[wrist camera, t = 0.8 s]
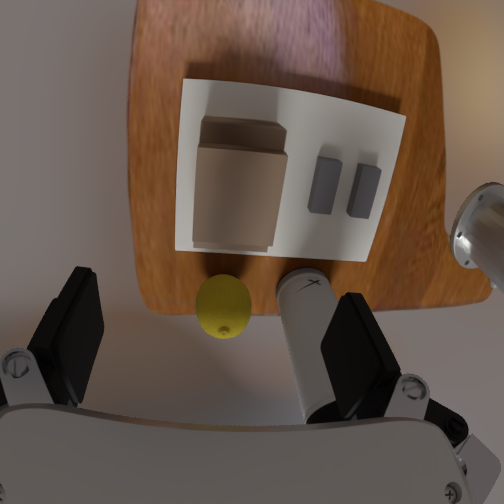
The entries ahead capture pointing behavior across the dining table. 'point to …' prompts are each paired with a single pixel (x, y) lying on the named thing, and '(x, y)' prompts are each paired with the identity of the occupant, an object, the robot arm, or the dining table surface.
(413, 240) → the dining table surface
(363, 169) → the dark grey block
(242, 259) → the dining table surface
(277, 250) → the board
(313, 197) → the dark grey block
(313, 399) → the travel mug
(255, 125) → the block
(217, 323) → the lemon
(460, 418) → the robot arm
